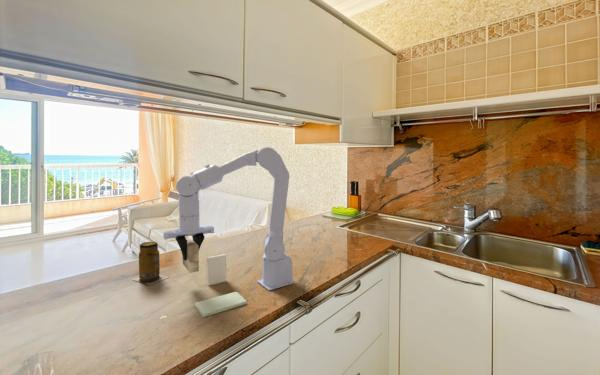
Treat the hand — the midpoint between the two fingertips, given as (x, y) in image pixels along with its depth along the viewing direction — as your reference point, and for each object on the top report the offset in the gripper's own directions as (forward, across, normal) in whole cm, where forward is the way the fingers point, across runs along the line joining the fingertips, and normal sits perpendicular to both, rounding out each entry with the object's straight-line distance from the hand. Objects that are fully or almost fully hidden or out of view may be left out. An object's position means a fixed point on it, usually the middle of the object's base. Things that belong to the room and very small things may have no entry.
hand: (190, 258), depth 86 cm
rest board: (+9, -4, +16) cm, 19 cm away
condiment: (+10, +9, -14) cm, 19 cm away
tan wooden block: (+3, 0, 0) cm, 3 cm away
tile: (+9, -8, +1) cm, 12 cm away
